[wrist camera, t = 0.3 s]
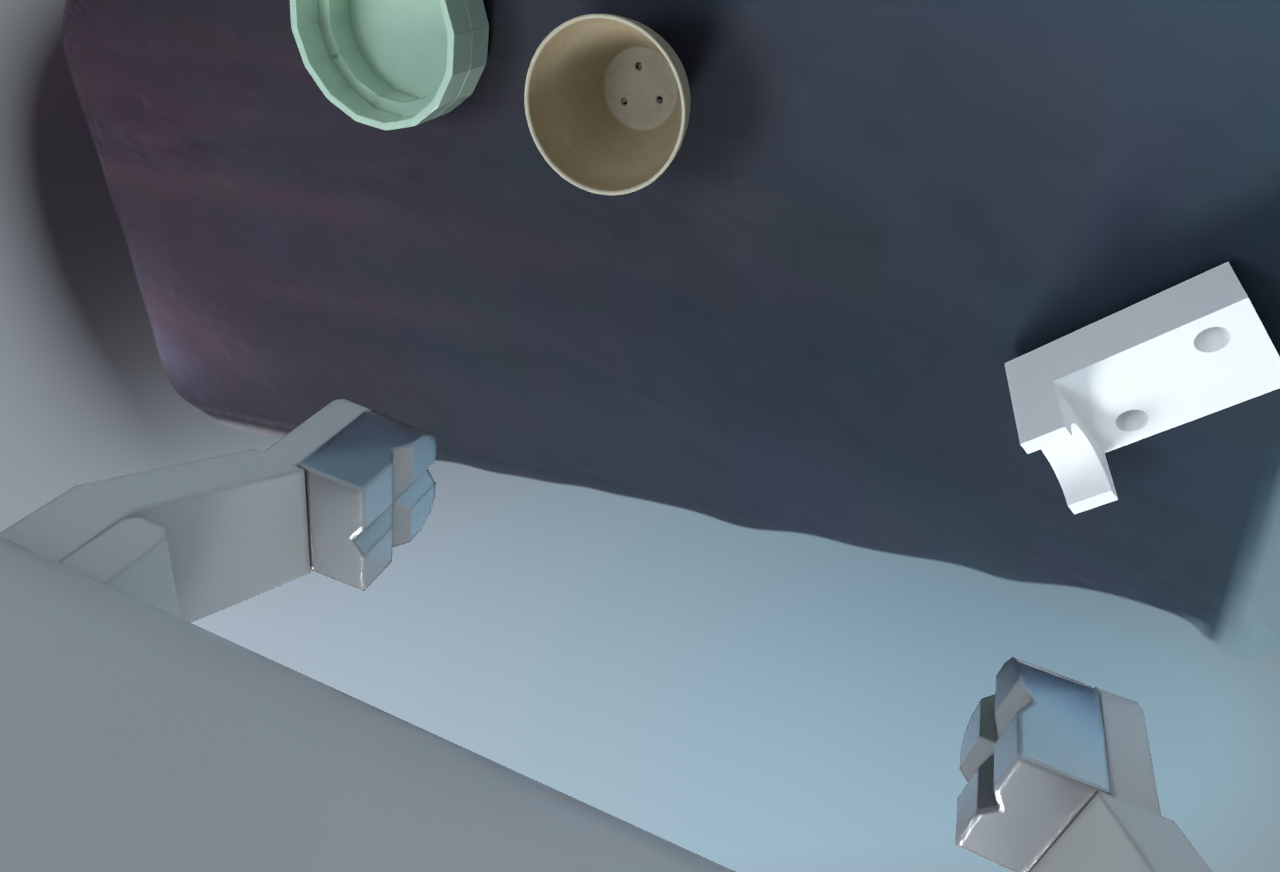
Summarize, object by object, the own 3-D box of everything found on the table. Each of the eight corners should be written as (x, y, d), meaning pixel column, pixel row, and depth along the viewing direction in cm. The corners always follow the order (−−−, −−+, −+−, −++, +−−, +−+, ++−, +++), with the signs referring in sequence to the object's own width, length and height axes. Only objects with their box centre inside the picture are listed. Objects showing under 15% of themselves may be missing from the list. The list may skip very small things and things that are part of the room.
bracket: (1054, 431, 59) (1074, 514, 54) (1004, 363, 56) (1020, 444, 50) (1272, 345, 52) (1320, 431, 46) (1228, 261, 49) (1274, 343, 43)
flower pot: (697, 185, 58) (662, 217, 52) (562, 140, 60) (514, 166, 54) (737, 26, 52) (703, 43, 46) (586, -19, 54) (535, -9, 48)
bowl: (335, -100, 57) (284, -99, 53) (499, -58, 54) (458, -53, 50) (339, 89, 64) (294, 102, 60) (485, 133, 61) (448, 150, 57)
